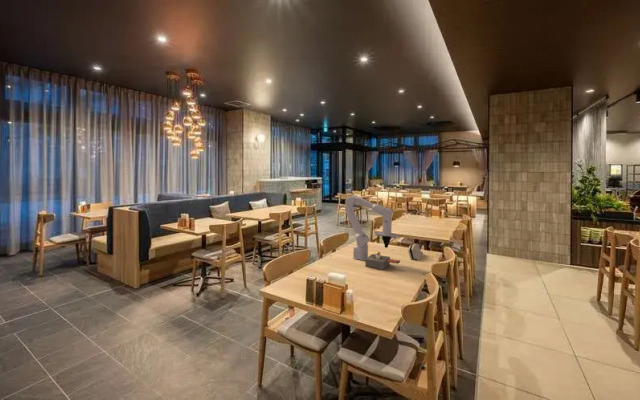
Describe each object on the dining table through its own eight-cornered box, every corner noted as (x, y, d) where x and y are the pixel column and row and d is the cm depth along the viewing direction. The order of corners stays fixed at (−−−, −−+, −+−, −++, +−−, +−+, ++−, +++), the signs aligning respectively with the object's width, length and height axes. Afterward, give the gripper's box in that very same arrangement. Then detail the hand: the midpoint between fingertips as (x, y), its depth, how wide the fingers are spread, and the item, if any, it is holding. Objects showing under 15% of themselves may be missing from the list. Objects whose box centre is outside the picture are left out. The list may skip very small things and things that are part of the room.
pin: (374, 264, 196) (374, 252, 195) (376, 263, 199) (376, 251, 198) (378, 265, 195) (379, 253, 194) (380, 264, 197) (381, 252, 196)
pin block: (365, 266, 195) (365, 258, 194) (372, 261, 205) (372, 254, 204) (383, 269, 189) (383, 262, 188) (389, 264, 199) (390, 256, 198)
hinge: (418, 260, 206) (413, 246, 206) (411, 262, 208) (406, 247, 209) (423, 254, 220) (419, 241, 220) (417, 255, 222) (413, 242, 223)
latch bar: (387, 262, 191) (387, 260, 191) (389, 260, 194) (389, 258, 194) (398, 263, 188) (398, 262, 188) (400, 262, 191) (400, 260, 191)
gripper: (374, 227, 202) (373, 247, 203) (395, 229, 194) (395, 250, 196) (378, 225, 207) (377, 244, 209) (399, 227, 200) (398, 247, 202)
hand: (386, 247), depth 203 cm, fingers closed
